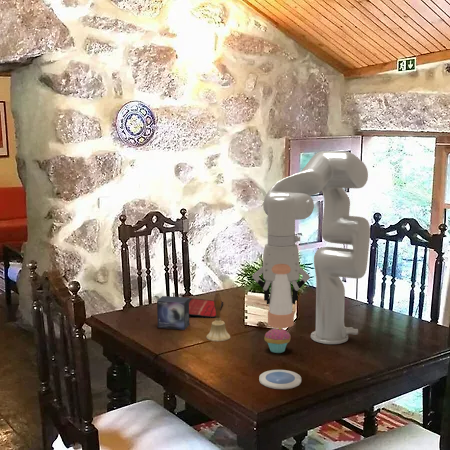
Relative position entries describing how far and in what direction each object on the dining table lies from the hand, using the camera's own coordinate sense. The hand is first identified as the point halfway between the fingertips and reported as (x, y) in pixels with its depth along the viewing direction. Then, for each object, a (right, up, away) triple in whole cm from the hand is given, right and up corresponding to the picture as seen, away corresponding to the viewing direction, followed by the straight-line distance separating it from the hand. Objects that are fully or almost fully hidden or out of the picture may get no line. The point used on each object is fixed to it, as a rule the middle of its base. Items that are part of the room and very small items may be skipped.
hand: (280, 302), depth 178 cm
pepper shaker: (0, -6, +1) cm, 6 cm away
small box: (-34, -15, +52) cm, 64 cm away
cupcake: (+1, -19, +27) cm, 33 cm away
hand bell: (-18, -17, +40) cm, 47 cm away
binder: (-25, -12, +72) cm, 78 cm away
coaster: (0, -23, +4) cm, 23 cm away
